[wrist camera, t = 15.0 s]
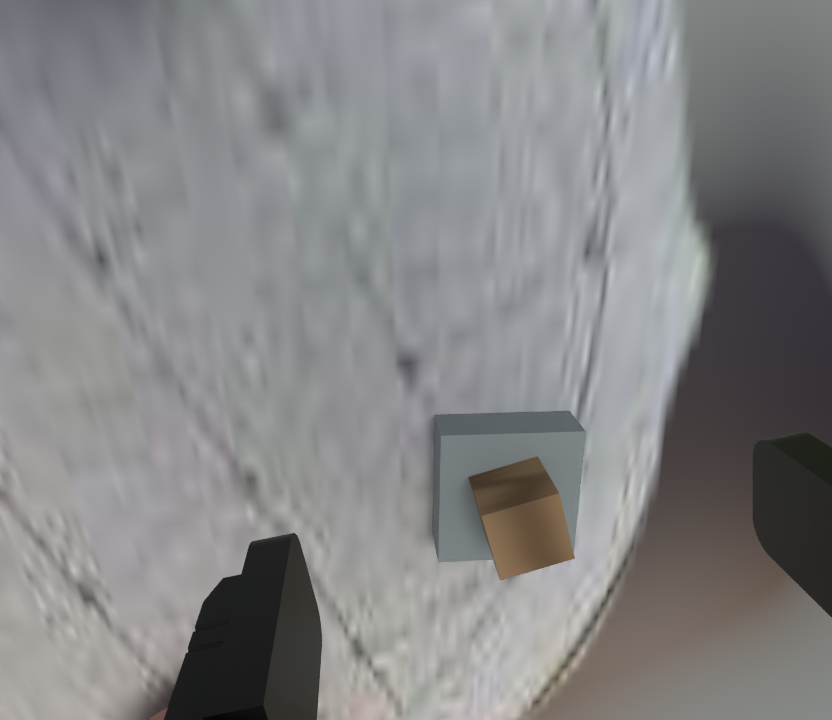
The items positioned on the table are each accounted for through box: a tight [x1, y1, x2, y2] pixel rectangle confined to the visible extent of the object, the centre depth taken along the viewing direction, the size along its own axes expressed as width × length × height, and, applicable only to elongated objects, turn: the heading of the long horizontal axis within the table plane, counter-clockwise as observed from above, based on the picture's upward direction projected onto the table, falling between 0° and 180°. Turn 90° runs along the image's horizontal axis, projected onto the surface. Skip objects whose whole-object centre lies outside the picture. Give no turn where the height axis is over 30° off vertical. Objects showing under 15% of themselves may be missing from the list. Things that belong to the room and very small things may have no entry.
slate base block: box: [433, 411, 586, 562], centre depth 47 cm, size 10×10×4 cm
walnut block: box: [468, 456, 575, 580], centre depth 43 cm, size 5×5×5 cm
